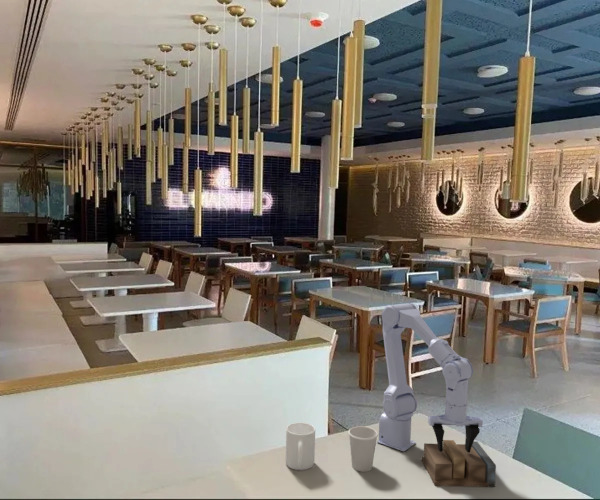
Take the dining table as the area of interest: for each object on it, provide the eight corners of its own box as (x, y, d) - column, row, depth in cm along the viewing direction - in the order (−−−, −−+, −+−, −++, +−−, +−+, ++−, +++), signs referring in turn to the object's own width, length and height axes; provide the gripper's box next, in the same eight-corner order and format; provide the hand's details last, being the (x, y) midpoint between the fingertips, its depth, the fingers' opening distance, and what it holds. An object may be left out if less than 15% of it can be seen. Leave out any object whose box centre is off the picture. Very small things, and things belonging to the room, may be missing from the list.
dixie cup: (342, 469, 140) (343, 434, 140) (353, 456, 148) (354, 423, 147) (370, 476, 137) (372, 441, 136) (380, 464, 144) (382, 430, 143)
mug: (315, 478, 135) (316, 441, 134) (284, 477, 135) (285, 440, 134) (314, 457, 147) (315, 423, 146) (285, 456, 147) (286, 422, 146)
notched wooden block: (434, 485, 133) (435, 463, 133) (421, 460, 147) (422, 440, 147) (494, 487, 133) (495, 465, 133) (476, 461, 147) (477, 441, 147)
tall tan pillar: (452, 478, 135) (453, 456, 135) (442, 460, 145) (443, 440, 145) (464, 478, 135) (465, 456, 135) (452, 460, 145) (453, 440, 145)
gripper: (434, 407, 135) (431, 456, 136) (487, 408, 135) (485, 457, 136) (427, 398, 142) (425, 444, 143) (478, 399, 142) (475, 446, 143)
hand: (453, 450), depth 140 cm, fingers open, 7 cm apart
